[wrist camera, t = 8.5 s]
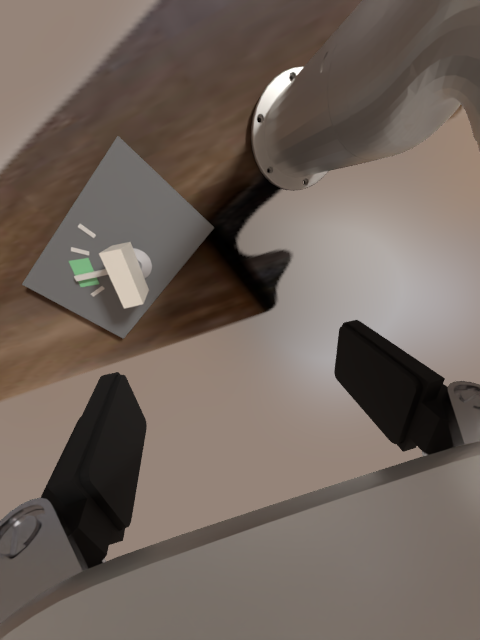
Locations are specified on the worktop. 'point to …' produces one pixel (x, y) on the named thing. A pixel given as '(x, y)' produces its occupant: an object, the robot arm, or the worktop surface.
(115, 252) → the door lever handle
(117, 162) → the dial board
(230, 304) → the worktop surface
